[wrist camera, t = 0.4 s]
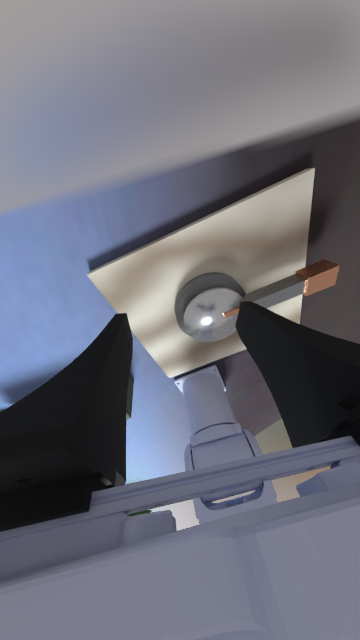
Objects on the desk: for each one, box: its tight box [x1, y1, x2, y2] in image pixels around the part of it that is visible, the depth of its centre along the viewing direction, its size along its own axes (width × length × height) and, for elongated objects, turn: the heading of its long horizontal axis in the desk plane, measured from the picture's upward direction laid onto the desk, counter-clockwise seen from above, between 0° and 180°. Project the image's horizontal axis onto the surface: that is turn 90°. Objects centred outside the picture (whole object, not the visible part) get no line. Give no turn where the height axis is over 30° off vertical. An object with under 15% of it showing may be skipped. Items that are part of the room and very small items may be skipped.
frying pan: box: [183, 259, 340, 342], centre depth 18 cm, size 7×16×2 cm, turn 111°
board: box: [87, 168, 315, 378], centre depth 21 cm, size 20×22×2 cm
